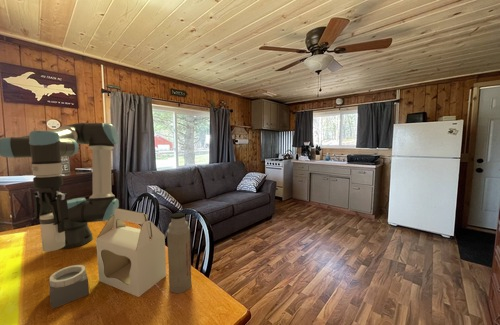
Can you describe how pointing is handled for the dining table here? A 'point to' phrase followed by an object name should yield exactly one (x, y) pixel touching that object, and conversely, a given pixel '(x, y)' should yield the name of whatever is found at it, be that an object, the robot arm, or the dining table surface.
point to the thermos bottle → (179, 254)
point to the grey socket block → (68, 285)
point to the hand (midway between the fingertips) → (53, 239)
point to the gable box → (131, 253)
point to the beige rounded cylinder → (49, 233)
